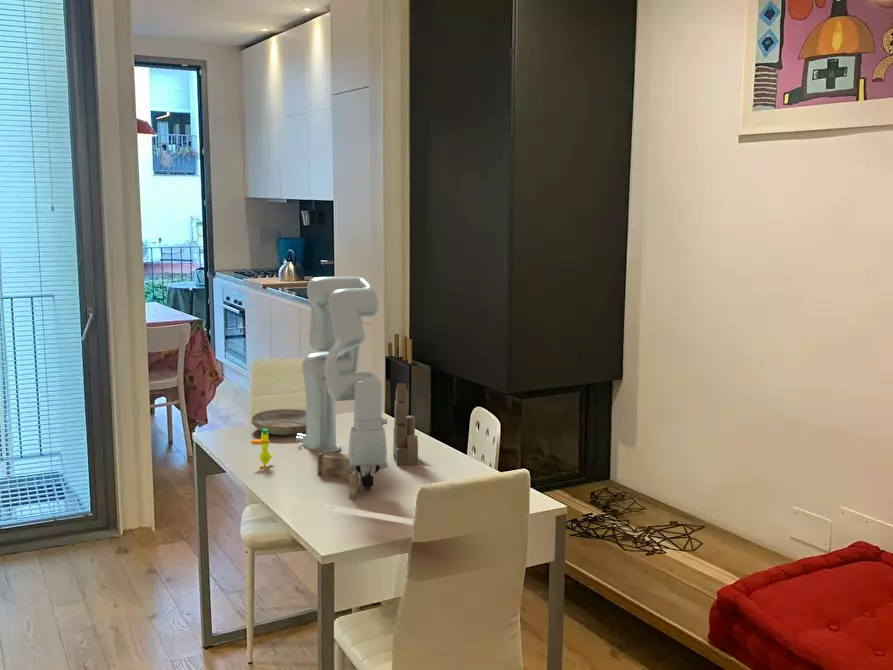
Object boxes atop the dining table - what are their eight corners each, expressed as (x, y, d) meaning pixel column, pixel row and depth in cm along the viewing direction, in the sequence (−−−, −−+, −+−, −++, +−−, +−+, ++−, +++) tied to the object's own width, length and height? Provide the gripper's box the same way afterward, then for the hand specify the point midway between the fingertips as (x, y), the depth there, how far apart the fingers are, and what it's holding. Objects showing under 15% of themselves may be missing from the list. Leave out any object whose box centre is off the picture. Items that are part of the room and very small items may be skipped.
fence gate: (355, 481, 247) (355, 460, 246) (361, 482, 247) (361, 460, 246) (348, 499, 233) (348, 476, 232) (355, 499, 233) (355, 476, 232)
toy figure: (250, 470, 260) (250, 431, 258) (251, 466, 263) (250, 427, 261) (274, 469, 261) (273, 430, 259) (274, 465, 264) (273, 427, 262)
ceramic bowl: (259, 443, 287) (259, 428, 286) (245, 425, 309) (245, 411, 308) (327, 436, 296) (327, 422, 296) (309, 419, 318) (309, 406, 317)
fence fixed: (316, 475, 253) (316, 453, 252) (319, 473, 254) (319, 451, 253) (360, 482, 247) (360, 459, 246) (363, 480, 249) (363, 457, 248)
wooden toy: (418, 469, 263) (420, 388, 259) (396, 470, 263) (397, 388, 258) (413, 454, 279) (414, 377, 274) (392, 454, 278) (393, 377, 274)
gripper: (394, 419, 241) (393, 483, 244) (339, 420, 239) (339, 485, 241) (396, 426, 233) (396, 492, 236) (340, 428, 231) (340, 494, 234)
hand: (367, 488), depth 239 cm, fingers closed
